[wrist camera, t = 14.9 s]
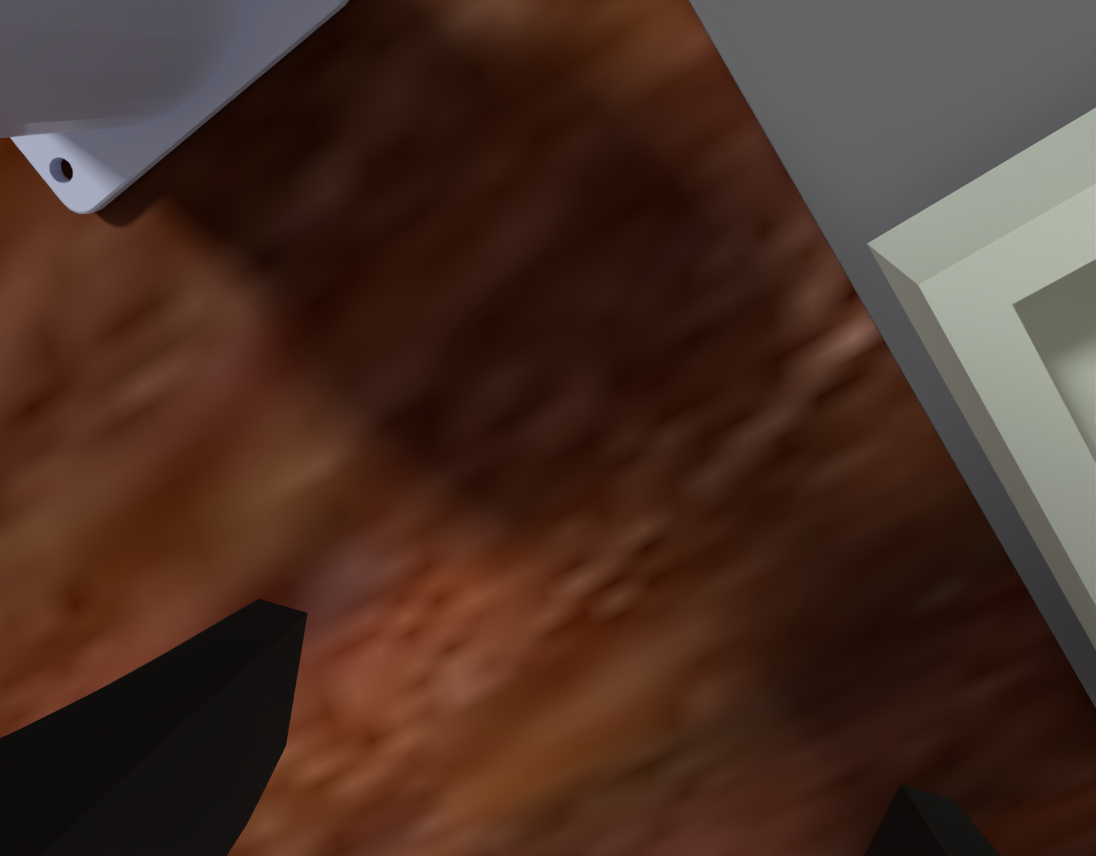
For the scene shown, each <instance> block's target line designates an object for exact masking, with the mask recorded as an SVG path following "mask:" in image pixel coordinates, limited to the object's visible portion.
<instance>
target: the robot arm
mask: <svg viewBox="0 0 1096 856" xmlns="http://www.w3.org/2000/svg"><path fill="white" fill-rule="evenodd" d="M348 1H349V0H0V138H6V137H10V138H11V139H12V141H13V142H14V143H15V144H16V146H17V147H18V148H19V149H20V151H21V152H22V153H23V154H24V155H25V157H26V158H27V159H28V160H29V162H30V163H31V164H32V165H33V167H34V168H35V169H36V170H37V172H38V173H39V174H40V175H41V177H42V178H43V179H44V180H45V181H46V183H47V184H48V185H49V186H50V188H51V189H52V190H53V191H54V193H55V194H56V195H57V196H58V198H59V199H60V200H61V201H62V203H63V204H64V205H65V206H67V207H68V208H69V209H70V210H71V211H74V212H76V213H79V214H89V213H93V212H97V211H99V210H101V209H103V208H104V207H105V206H106V205H108V204H109V203H110V202H111V201H112V200H114V199H115V198H116V197H117V196H118V195H120V194H121V193H122V192H123V191H124V190H126V189H127V188H128V187H129V186H130V185H132V184H133V183H134V182H135V181H136V180H137V179H139V178H140V177H141V176H142V175H143V174H145V173H146V172H147V171H148V170H149V169H151V168H152V167H153V166H154V165H155V164H157V163H158V162H159V161H160V160H161V159H163V158H164V157H165V156H166V155H167V154H169V153H170V152H171V151H172V150H173V149H174V148H176V147H177V146H178V145H179V144H180V143H182V142H183V141H184V140H185V139H186V138H188V137H189V136H190V135H191V134H192V133H194V132H195V131H196V130H197V129H198V128H200V127H201V126H202V125H203V124H204V123H206V122H207V121H208V120H209V119H210V118H211V117H213V116H214V115H215V114H216V113H217V112H219V111H220V110H221V109H222V108H223V107H225V106H226V105H227V104H228V103H229V102H231V101H232V100H233V99H234V98H235V97H237V96H238V95H239V94H240V93H241V92H243V91H244V90H245V89H246V88H247V87H248V86H250V85H251V84H252V83H253V82H254V81H256V80H257V79H258V78H259V77H260V76H262V75H263V74H264V73H265V72H266V71H268V70H269V69H270V68H271V67H272V66H274V65H275V64H276V63H277V62H278V61H280V60H281V59H282V58H283V57H284V56H285V55H287V54H288V53H289V52H290V51H291V50H293V49H294V48H295V47H296V46H297V45H299V44H300V43H301V42H302V41H303V40H305V39H306V38H307V37H308V36H309V35H311V34H312V33H313V32H314V31H315V30H317V29H318V28H319V27H320V26H321V25H322V24H324V23H325V22H326V21H327V20H328V19H330V18H331V17H332V16H333V15H334V14H336V13H337V12H338V11H339V10H340V9H342V8H343V7H344V6H345V5H346V4H347V2H348ZM63 159H65V160H67V161H68V162H69V163H70V165H71V167H72V169H73V177H72V179H71V180H69V179H68V178H67V177H65V176H64V174H63V172H62V170H61V162H62V161H63ZM306 619H307V613H306V612H302V611H299V610H295V609H292V608H288V607H285V606H281V605H278V604H275V603H271V602H268V601H264V600H261V599H258V600H256V601H254V602H253V603H251V604H249V605H247V606H245V607H243V608H242V609H240V610H238V611H236V612H235V613H233V614H231V615H229V616H228V617H226V618H224V619H223V620H221V621H219V622H217V623H216V624H214V625H212V626H211V627H209V628H207V629H206V630H204V631H202V632H201V633H199V634H197V635H195V636H194V637H192V638H190V639H189V640H187V641H185V642H183V643H182V644H180V645H178V646H177V647H175V648H173V649H171V650H170V651H168V652H166V653H164V654H163V655H161V656H159V657H157V658H156V659H154V660H152V661H150V662H148V663H147V664H145V665H143V666H141V667H139V668H137V669H136V670H134V671H132V672H130V673H128V674H127V675H125V676H123V677H121V678H119V679H118V680H116V681H114V682H112V683H110V684H109V685H107V686H105V687H103V688H101V689H99V690H97V691H95V692H93V693H92V694H90V695H88V696H86V697H84V698H82V699H80V700H78V701H76V702H74V703H72V704H70V705H68V706H66V707H64V708H61V709H59V710H57V711H55V712H53V713H51V714H49V715H47V716H45V717H43V718H41V719H39V720H37V721H35V722H33V723H31V724H29V725H27V726H25V727H23V728H21V729H19V730H17V731H15V732H13V733H11V734H8V735H6V736H4V737H2V738H0V856H227V854H228V853H229V851H230V850H231V848H232V847H233V845H234V844H235V842H236V840H237V839H238V837H239V836H240V834H241V832H242V831H243V829H244V828H245V826H246V825H247V823H248V821H249V819H250V817H251V815H252V813H253V811H254V809H255V807H256V805H257V803H258V801H259V799H260V797H261V795H262V793H263V791H264V789H265V788H266V785H267V783H268V781H269V779H270V777H271V775H272V773H273V771H274V769H275V767H276V765H277V763H278V761H279V759H280V757H281V755H282V753H283V751H284V749H285V746H286V742H287V736H288V729H289V723H290V717H291V711H292V705H293V699H294V693H295V687H296V680H297V674H298V668H299V662H300V656H301V650H302V644H303V638H304V632H305V625H306ZM865 856H1000V855H999V854H998V852H997V851H996V850H995V849H994V847H993V846H992V845H991V844H990V842H989V841H988V840H987V839H986V838H985V836H984V835H983V834H982V833H981V832H980V830H979V829H978V828H977V827H976V825H975V824H974V823H973V822H972V821H971V820H970V818H969V817H968V816H967V815H966V814H965V813H964V812H963V810H962V809H961V808H960V807H959V806H958V805H957V804H956V803H955V802H954V800H953V799H950V798H946V797H943V796H939V795H936V794H932V793H929V792H925V791H922V790H918V789H915V788H911V787H908V786H905V785H900V787H899V789H898V791H897V793H896V795H895V797H894V798H893V800H892V802H891V804H890V806H889V808H888V810H887V812H886V814H885V816H884V818H883V820H882V822H881V824H880V826H879V828H878V830H877V832H876V834H875V836H874V838H873V840H872V842H871V844H870V846H869V848H868V850H867V852H866V854H865Z"/></svg>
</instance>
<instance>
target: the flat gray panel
mask: <svg viewBox="0 0 1096 856" xmlns="http://www.w3.org/2000/svg"><path fill="white" fill-rule="evenodd" d="M689 2H690V4H691V6H692V7H693V9H694V11H695V12H696V14H697V16H698V18H699V19H700V21H701V23H702V25H703V26H704V28H705V30H706V32H707V33H708V35H709V37H710V39H711V40H712V42H713V44H714V46H715V47H716V49H717V51H718V52H719V54H720V56H721V58H722V59H723V61H724V63H725V65H726V66H727V68H728V70H729V72H730V73H731V75H732V77H733V79H734V80H735V82H736V84H737V86H738V87H739V89H740V91H741V92H742V94H743V96H744V98H745V99H746V101H747V103H748V105H749V106H750V108H751V110H752V112H753V113H754V115H755V117H756V119H757V120H758V122H759V124H760V126H761V127H762V129H763V131H764V132H765V134H766V136H767V138H768V139H769V141H770V143H771V145H772V146H773V148H774V150H775V152H776V153H777V155H778V157H779V159H780V160H781V162H782V164H783V165H784V167H785V169H786V171H787V172H788V174H789V176H790V178H791V179H792V181H793V183H794V185H795V186H796V188H797V190H798V192H799V193H800V195H801V197H802V199H803V200H804V202H805V204H806V205H807V207H808V209H809V211H810V212H811V214H812V216H813V218H814V219H815V221H816V223H817V225H818V226H819V228H820V230H821V232H822V233H823V235H824V237H825V239H826V240H827V242H828V244H829V245H830V247H831V249H832V251H833V252H834V254H835V256H836V258H837V259H838V261H839V263H840V265H841V266H842V268H843V270H844V272H845V273H846V275H847V277H848V279H849V280H850V282H851V284H852V285H853V287H854V289H855V291H856V292H857V294H858V296H859V298H860V299H861V301H862V303H863V305H864V306H865V308H866V310H867V312H868V313H869V315H870V317H871V319H872V320H873V322H874V324H875V325H876V327H877V329H878V331H879V332H880V334H881V336H882V338H883V339H884V341H885V343H886V345H887V346H888V348H889V350H890V352H891V353H892V355H893V357H894V359H895V360H896V362H897V364H898V365H899V367H900V369H901V371H902V372H903V374H904V376H905V378H906V379H907V381H908V383H909V385H910V386H911V388H912V390H913V392H914V393H915V395H916V397H917V398H918V400H919V402H920V404H921V405H922V407H923V409H924V411H925V412H926V414H927V416H928V418H929V419H930V421H931V423H932V425H933V426H934V428H935V430H936V432H937V433H938V435H939V437H940V438H941V440H942V442H943V444H944V445H945V447H946V449H947V451H948V452H949V454H950V456H951V458H952V459H953V461H954V463H955V465H956V466H957V468H958V470H959V472H960V473H961V475H962V477H963V478H964V480H965V482H966V484H967V485H968V487H969V489H970V491H971V492H972V494H973V496H974V498H975V499H976V501H977V503H978V505H979V506H980V508H981V510H982V512H983V513H984V515H985V517H986V518H987V520H988V522H989V524H990V525H991V527H992V529H993V531H994V532H995V534H996V536H997V538H998V539H999V541H1000V543H1001V545H1002V546H1003V548H1004V550H1005V552H1006V553H1007V555H1008V557H1009V558H1010V560H1011V562H1012V564H1013V565H1014V567H1015V569H1016V571H1017V572H1018V574H1019V576H1020V578H1021V579H1022V581H1023V583H1024V585H1025V586H1026V588H1027V590H1028V592H1029V593H1030V595H1031V597H1032V598H1033V600H1034V602H1035V604H1036V605H1037V607H1038V609H1039V611H1040V612H1041V614H1042V616H1043V618H1044V619H1045V621H1046V623H1047V625H1048V626H1049V628H1050V630H1051V631H1052V633H1053V635H1054V637H1055V638H1056V640H1057V642H1058V644H1059V645H1060V647H1061V649H1062V651H1063V652H1064V654H1065V656H1066V658H1067V659H1068V661H1069V663H1070V665H1071V666H1072V668H1073V670H1074V671H1075V673H1076V675H1077V677H1078V678H1079V680H1080V682H1081V684H1082V685H1083V687H1084V689H1085V691H1086V692H1087V694H1088V696H1089V698H1090V699H1091V701H1092V703H1093V705H1094V706H1095V708H1096V650H1095V648H1094V646H1093V644H1092V643H1091V641H1090V639H1089V637H1088V636H1087V634H1086V632H1085V630H1084V628H1083V627H1082V625H1081V623H1080V621H1079V620H1078V618H1077V616H1076V614H1075V612H1074V611H1073V609H1072V607H1071V605H1070V604H1069V602H1068V600H1067V598H1066V596H1065V595H1064V593H1063V591H1062V589H1061V588H1060V586H1059V584H1058V582H1057V580H1056V579H1055V577H1054V575H1053V573H1052V572H1051V570H1050V568H1049V566H1048V564H1047V563H1046V561H1045V559H1044V557H1043V556H1042V554H1041V552H1040V550H1039V549H1038V547H1037V545H1036V543H1035V541H1034V540H1033V538H1032V536H1031V534H1030V533H1029V531H1028V529H1027V527H1026V525H1025V524H1024V522H1023V520H1022V518H1021V517H1020V515H1019V513H1018V511H1017V509H1016V508H1015V506H1014V504H1013V502H1012V501H1011V499H1010V497H1009V495H1008V493H1007V492H1006V490H1005V488H1004V486H1003V485H1002V483H1001V481H1000V479H999V477H998V476H997V474H996V472H995V470H994V469H993V467H992V465H991V463H990V461H989V460H988V458H987V456H986V454H985V453H984V451H983V449H982V447H981V445H980V444H979V442H978V440H977V438H976V437H975V435H974V433H973V431H972V429H971V428H970V426H969V424H968V422H967V421H966V419H965V417H964V415H963V413H962V412H961V410H960V408H959V406H958V405H957V403H956V401H955V399H954V397H953V396H952V394H951V392H950V390H949V389H948V387H947V385H946V383H945V382H944V380H943V378H942V376H941V374H940V373H939V371H938V369H937V367H936V366H935V364H934V362H933V360H932V358H931V357H930V355H929V353H928V351H927V350H926V348H925V346H924V344H923V342H922V341H921V339H920V337H919V335H918V334H917V332H916V330H915V328H914V326H913V325H912V323H911V321H910V319H909V318H908V316H907V314H906V312H905V310H904V309H903V307H902V305H901V303H900V302H899V300H898V298H897V296H896V294H895V293H894V291H893V289H892V287H891V286H890V284H889V282H888V280H887V278H886V277H885V275H884V273H883V271H882V270H881V268H880V266H879V264H878V262H877V261H876V259H875V257H874V255H873V254H872V252H871V250H870V248H869V246H868V245H867V243H869V242H871V241H872V240H874V239H876V238H877V237H879V236H881V235H882V234H884V233H886V232H887V231H889V230H891V229H893V228H894V227H896V226H898V225H899V224H901V223H903V222H904V221H906V220H908V219H909V218H911V217H913V216H914V215H916V214H918V213H919V212H921V211H923V210H924V209H926V208H928V207H930V206H931V205H933V204H935V203H936V202H938V201H940V200H941V199H943V198H945V197H946V196H948V195H950V194H951V193H953V192H955V191H956V190H958V189H960V188H961V187H963V186H965V185H967V184H968V183H970V182H972V181H973V180H975V179H977V178H978V177H980V176H982V175H983V174H985V173H987V172H988V171H990V170H992V169H993V168H995V167H997V166H998V165H1000V164H1002V163H1004V162H1005V161H1007V160H1009V159H1010V158H1012V157H1014V156H1015V155H1017V154H1019V153H1020V152H1022V151H1024V150H1025V149H1027V148H1029V147H1030V146H1032V145H1034V144H1035V143H1037V142H1039V141H1041V140H1042V139H1044V138H1046V137H1047V136H1049V135H1051V134H1052V133H1054V132H1056V131H1057V130H1059V129H1061V128H1062V127H1064V126H1066V125H1067V124H1069V123H1071V122H1072V121H1074V120H1076V119H1078V118H1079V117H1081V116H1083V115H1084V114H1086V113H1088V112H1089V111H1091V110H1093V109H1094V108H1096V0H689Z"/></svg>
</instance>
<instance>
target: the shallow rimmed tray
mask: <svg viewBox="0 0 1096 856" xmlns="http://www.w3.org/2000/svg"><path fill="white" fill-rule="evenodd" d="M867 245H868V246H869V248H870V250H871V252H872V254H873V255H874V257H875V259H876V261H877V262H878V264H879V266H880V268H881V270H882V271H883V273H884V275H885V277H886V278H887V280H888V282H889V284H890V286H891V287H892V289H893V291H894V293H895V294H896V296H897V298H898V300H899V302H900V303H901V305H902V307H903V309H904V310H905V312H906V314H907V316H908V318H909V319H910V321H911V323H912V325H913V326H914V328H915V330H916V332H917V334H918V335H919V337H920V339H921V341H922V342H923V344H924V346H925V348H926V350H927V351H928V353H929V355H930V357H931V358H932V360H933V362H934V364H935V366H936V367H937V369H938V371H939V373H940V374H941V376H942V378H943V380H944V382H945V383H946V385H947V387H948V389H949V390H950V392H951V394H952V396H953V397H954V399H955V401H956V403H957V405H958V406H959V408H960V410H961V412H962V413H963V415H964V417H965V419H966V421H967V422H968V424H969V426H970V428H971V429H972V431H973V433H974V435H975V437H976V438H977V440H978V442H979V444H980V445H981V447H982V449H983V451H984V453H985V454H986V456H987V458H988V460H989V461H990V463H991V465H992V467H993V469H994V470H995V472H996V474H997V476H998V477H999V479H1000V481H1001V483H1002V485H1003V486H1004V488H1005V490H1006V492H1007V493H1008V495H1009V497H1010V499H1011V501H1012V502H1013V504H1014V506H1015V508H1016V509H1017V511H1018V513H1019V515H1020V517H1021V518H1022V520H1023V522H1024V524H1025V525H1026V527H1027V529H1028V531H1029V533H1030V534H1031V536H1032V538H1033V540H1034V541H1035V543H1036V545H1037V547H1038V549H1039V550H1040V552H1041V554H1042V556H1043V557H1044V559H1045V561H1046V563H1047V564H1048V566H1049V568H1050V570H1051V572H1052V573H1053V575H1054V577H1055V579H1056V580H1057V582H1058V584H1059V586H1060V588H1061V589H1062V591H1063V593H1064V595H1065V596H1066V598H1067V600H1068V602H1069V604H1070V605H1071V607H1072V609H1073V611H1074V612H1075V614H1076V616H1077V618H1078V620H1079V621H1080V623H1081V625H1082V627H1083V628H1084V630H1085V632H1086V634H1087V636H1088V637H1089V639H1090V641H1091V643H1092V644H1093V646H1094V648H1095V650H1096V108H1094V109H1093V110H1091V111H1089V112H1088V113H1086V114H1084V115H1083V116H1081V117H1079V118H1078V119H1076V120H1074V121H1072V122H1071V123H1069V124H1067V125H1066V126H1064V127H1062V128H1061V129H1059V130H1057V131H1056V132H1054V133H1052V134H1051V135H1049V136H1047V137H1046V138H1044V139H1042V140H1041V141H1039V142H1037V143H1035V144H1034V145H1032V146H1030V147H1029V148H1027V149H1025V150H1024V151H1022V152H1020V153H1019V154H1017V155H1015V156H1014V157H1012V158H1010V159H1009V160H1007V161H1005V162H1004V163H1002V164H1000V165H998V166H997V167H995V168H993V169H992V170H990V171H988V172H987V173H985V174H983V175H982V176H980V177H978V178H977V179H975V180H973V181H972V182H970V183H968V184H967V185H965V186H963V187H961V188H960V189H958V190H956V191H955V192H953V193H951V194H950V195H948V196H946V197H945V198H943V199H941V200H940V201H938V202H936V203H935V204H933V205H931V206H930V207H928V208H926V209H924V210H923V211H921V212H919V213H918V214H916V215H914V216H913V217H911V218H909V219H908V220H906V221H904V222H903V223H901V224H899V225H898V226H896V227H894V228H893V229H891V230H889V231H887V232H886V233H884V234H882V235H881V236H879V237H877V238H876V239H874V240H872V241H871V242H869V243H867Z"/></svg>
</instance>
